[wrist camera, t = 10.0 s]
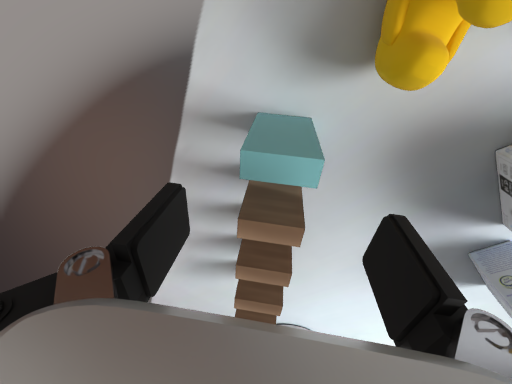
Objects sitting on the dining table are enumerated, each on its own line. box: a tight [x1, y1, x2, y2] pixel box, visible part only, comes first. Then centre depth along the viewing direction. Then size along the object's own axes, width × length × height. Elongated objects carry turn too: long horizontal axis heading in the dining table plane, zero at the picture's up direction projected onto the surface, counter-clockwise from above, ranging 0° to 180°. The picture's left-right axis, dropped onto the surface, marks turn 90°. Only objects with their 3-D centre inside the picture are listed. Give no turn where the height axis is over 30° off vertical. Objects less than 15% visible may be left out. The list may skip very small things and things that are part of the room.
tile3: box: [235, 239, 292, 287], centre depth 23 cm, size 2×5×9 cm, turn 86°
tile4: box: [237, 180, 305, 247], centre depth 20 cm, size 2×5×9 cm, turn 85°
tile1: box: [235, 309, 276, 325], centre depth 29 cm, size 2×5×9 cm, turn 85°
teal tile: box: [240, 113, 325, 188], centre depth 17 cm, size 2×5×9 cm, turn 86°
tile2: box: [234, 279, 283, 316], centre depth 26 cm, size 2×5×9 cm, turn 85°
